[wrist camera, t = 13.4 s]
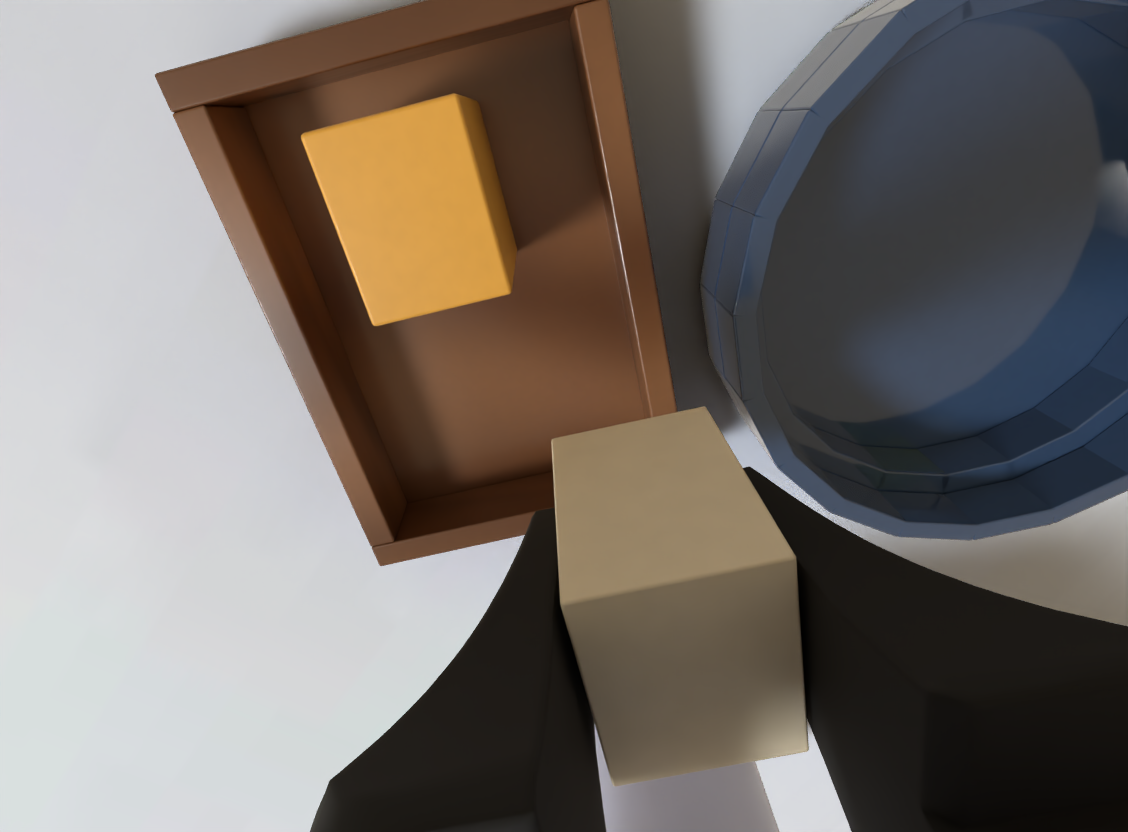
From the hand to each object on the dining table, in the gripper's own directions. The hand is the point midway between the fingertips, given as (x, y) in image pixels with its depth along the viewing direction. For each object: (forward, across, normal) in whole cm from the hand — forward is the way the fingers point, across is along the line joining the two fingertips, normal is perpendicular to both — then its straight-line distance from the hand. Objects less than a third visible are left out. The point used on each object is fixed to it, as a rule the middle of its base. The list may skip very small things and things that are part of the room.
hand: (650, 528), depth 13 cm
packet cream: (+1, 0, 0) cm, 1 cm away
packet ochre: (+8, +3, -7) cm, 11 cm away
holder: (+8, +3, -4) cm, 10 cm away
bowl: (+8, -11, -1) cm, 14 cm away
